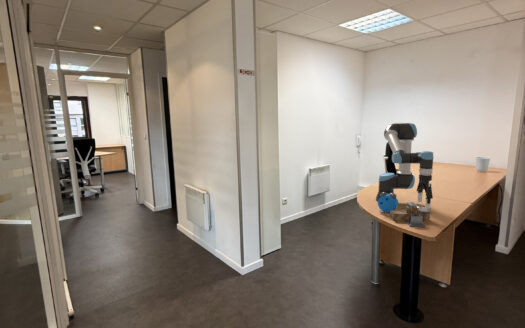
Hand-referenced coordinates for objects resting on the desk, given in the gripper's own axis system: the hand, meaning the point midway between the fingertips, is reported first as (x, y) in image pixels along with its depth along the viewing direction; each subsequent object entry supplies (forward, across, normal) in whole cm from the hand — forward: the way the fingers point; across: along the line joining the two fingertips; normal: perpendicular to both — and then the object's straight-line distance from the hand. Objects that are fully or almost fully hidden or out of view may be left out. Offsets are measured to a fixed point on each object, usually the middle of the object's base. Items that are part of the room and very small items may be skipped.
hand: (423, 204), depth 190 cm
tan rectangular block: (+6, 0, -8) cm, 10 cm away
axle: (+6, 0, -1) cm, 6 cm away
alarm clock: (+10, -14, -19) cm, 26 cm away
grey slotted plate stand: (+11, +10, -8) cm, 16 cm away
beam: (+10, 0, -7) cm, 13 cm away
